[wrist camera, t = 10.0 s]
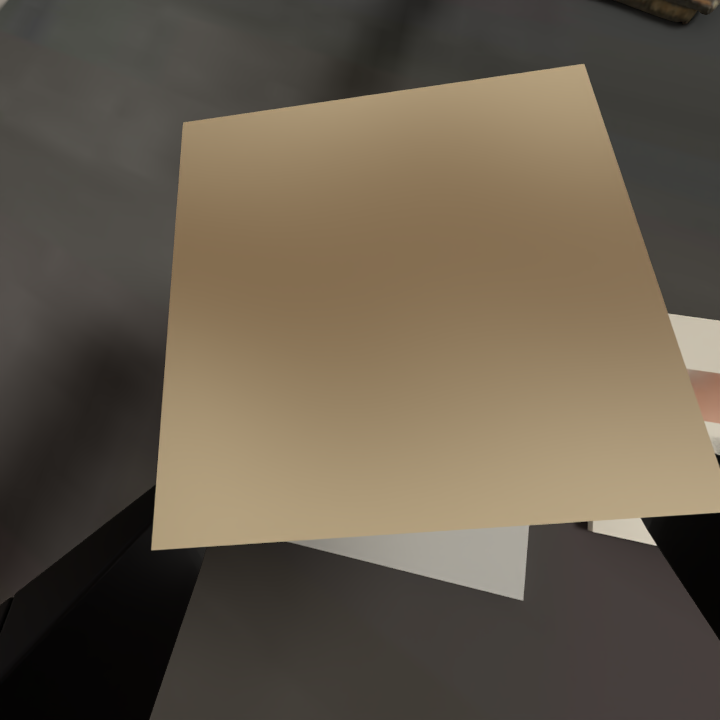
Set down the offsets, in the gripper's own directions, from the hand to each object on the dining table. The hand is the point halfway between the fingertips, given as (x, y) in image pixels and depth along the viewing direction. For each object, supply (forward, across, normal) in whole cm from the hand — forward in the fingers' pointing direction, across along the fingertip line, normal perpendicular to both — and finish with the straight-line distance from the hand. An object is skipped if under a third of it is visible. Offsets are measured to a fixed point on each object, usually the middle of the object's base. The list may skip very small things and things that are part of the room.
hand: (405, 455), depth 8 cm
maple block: (+7, 0, +4) cm, 8 cm away
